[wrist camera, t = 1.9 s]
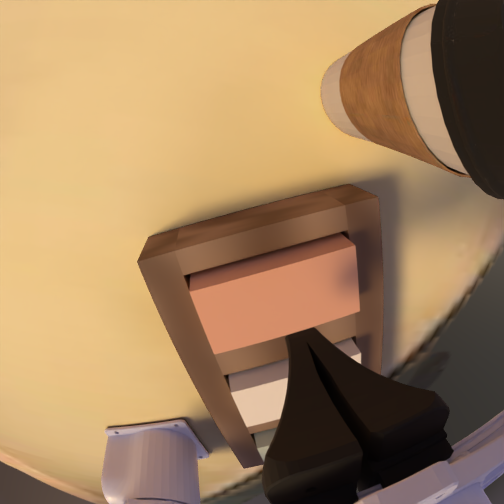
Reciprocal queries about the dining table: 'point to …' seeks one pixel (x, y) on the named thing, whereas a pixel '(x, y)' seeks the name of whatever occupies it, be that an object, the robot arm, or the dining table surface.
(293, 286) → the terracotta button
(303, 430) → the robot arm
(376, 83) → the coffee cup
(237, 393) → the cream button
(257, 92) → the dining table surface
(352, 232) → the button board
